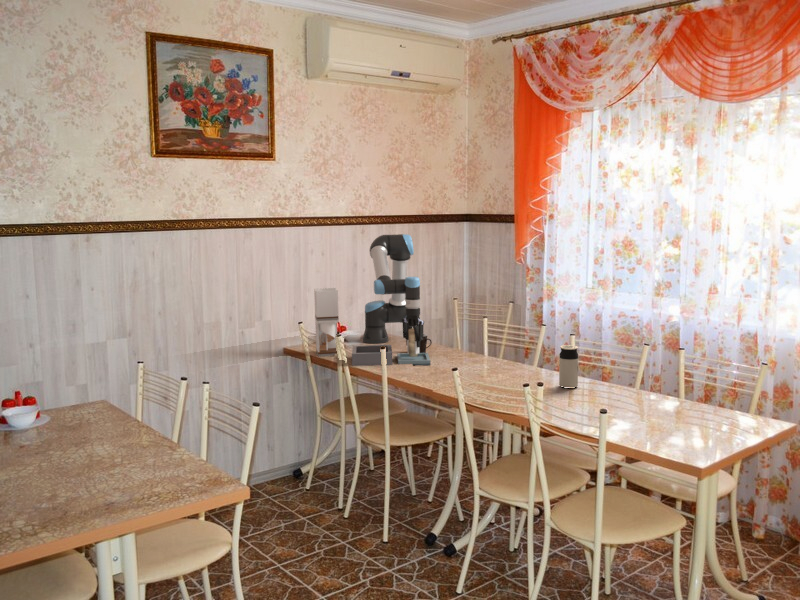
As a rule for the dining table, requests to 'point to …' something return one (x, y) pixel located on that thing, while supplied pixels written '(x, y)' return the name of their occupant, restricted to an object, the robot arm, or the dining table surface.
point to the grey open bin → (370, 355)
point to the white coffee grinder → (326, 320)
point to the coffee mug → (424, 344)
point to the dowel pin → (412, 343)
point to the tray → (413, 359)
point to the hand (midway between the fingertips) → (413, 352)
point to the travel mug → (568, 366)
